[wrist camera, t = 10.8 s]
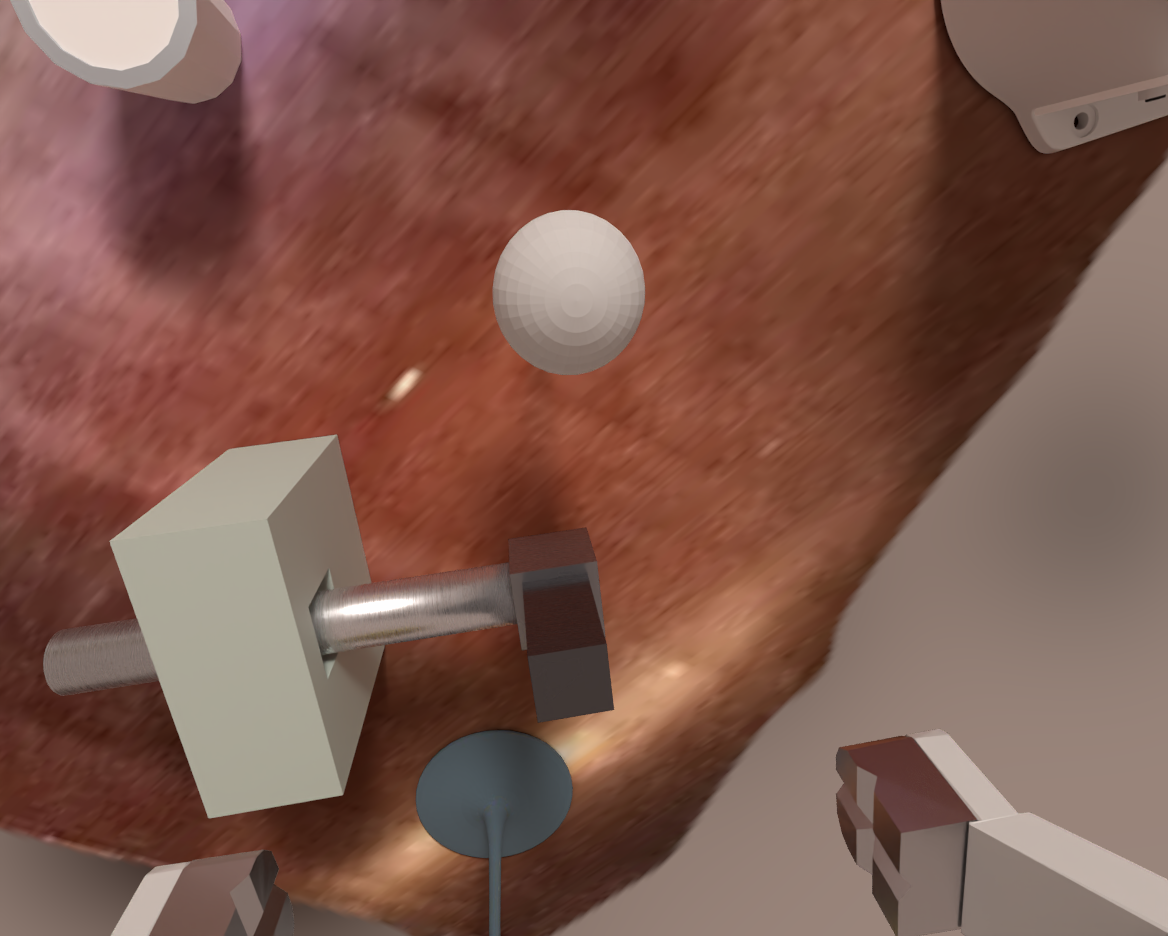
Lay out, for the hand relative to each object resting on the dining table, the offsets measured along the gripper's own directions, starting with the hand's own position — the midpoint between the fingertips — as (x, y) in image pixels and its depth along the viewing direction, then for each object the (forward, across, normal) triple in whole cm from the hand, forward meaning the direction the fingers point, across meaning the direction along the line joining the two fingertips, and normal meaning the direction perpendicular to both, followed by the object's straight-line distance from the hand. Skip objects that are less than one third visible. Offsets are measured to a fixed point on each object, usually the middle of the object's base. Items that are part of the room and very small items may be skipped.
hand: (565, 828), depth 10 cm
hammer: (+25, +10, +8) cm, 28 cm away
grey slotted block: (+32, +14, +8) cm, 35 cm away
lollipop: (+32, -2, -5) cm, 33 cm away
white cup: (+32, +14, -19) cm, 40 cm away
